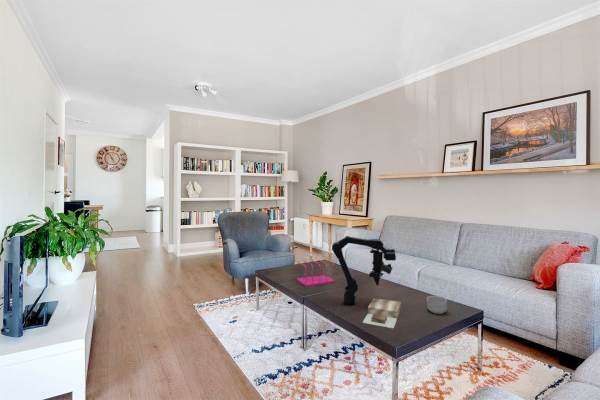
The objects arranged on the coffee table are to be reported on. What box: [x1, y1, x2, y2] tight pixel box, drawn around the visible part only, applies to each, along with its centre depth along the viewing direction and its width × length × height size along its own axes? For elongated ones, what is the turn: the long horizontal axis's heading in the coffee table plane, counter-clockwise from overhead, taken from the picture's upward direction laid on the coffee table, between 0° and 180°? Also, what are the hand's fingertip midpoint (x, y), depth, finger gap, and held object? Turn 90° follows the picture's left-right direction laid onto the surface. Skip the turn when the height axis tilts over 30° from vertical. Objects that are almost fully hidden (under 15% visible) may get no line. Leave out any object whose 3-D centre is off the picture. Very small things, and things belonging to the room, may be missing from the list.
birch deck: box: [367, 297, 402, 319], centre depth 179 cm, size 16×16×4 cm
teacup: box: [426, 295, 448, 315], centre depth 178 cm, size 14×11×8 cm
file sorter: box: [296, 258, 336, 288], centre depth 236 cm, size 17×25×16 cm
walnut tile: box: [371, 313, 387, 324], centre depth 165 cm, size 7×6×2 cm
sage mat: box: [362, 313, 398, 329], centre depth 166 cm, size 16×13×1 cm
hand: (377, 285), depth 188 cm, fingers closed
